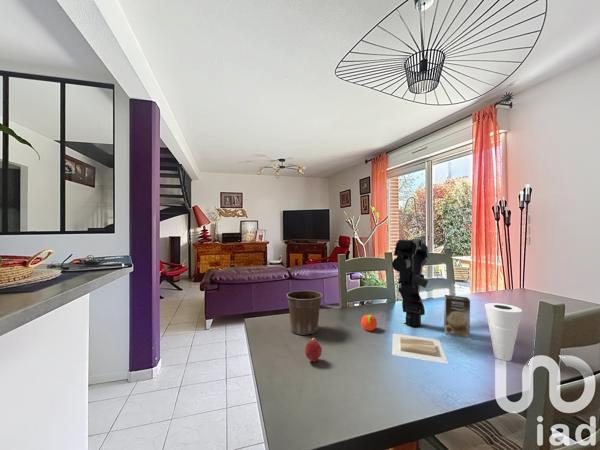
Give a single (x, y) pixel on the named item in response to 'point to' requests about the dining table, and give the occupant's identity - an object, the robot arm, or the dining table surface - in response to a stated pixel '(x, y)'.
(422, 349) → the tile
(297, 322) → the plant pot
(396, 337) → the mat
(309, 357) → the onion
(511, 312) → the cup
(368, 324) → the clementine
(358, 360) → the dining table surface
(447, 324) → the coffee box
